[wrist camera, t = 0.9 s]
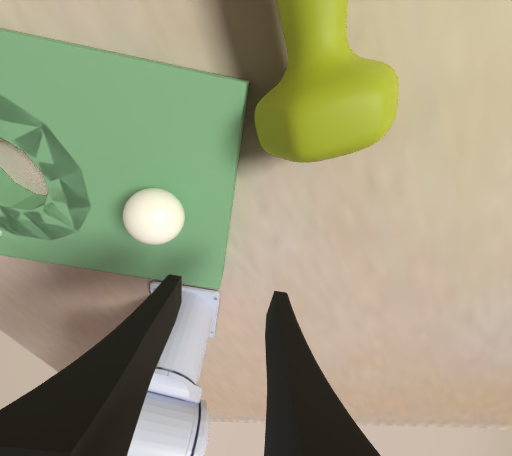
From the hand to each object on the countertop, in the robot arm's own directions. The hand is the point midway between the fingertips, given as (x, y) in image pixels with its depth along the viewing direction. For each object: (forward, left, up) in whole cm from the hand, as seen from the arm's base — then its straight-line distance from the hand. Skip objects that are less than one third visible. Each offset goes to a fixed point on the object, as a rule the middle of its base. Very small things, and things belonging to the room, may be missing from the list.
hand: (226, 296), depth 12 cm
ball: (0, +6, -6) cm, 8 cm away
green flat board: (0, +12, -10) cm, 16 cm away
